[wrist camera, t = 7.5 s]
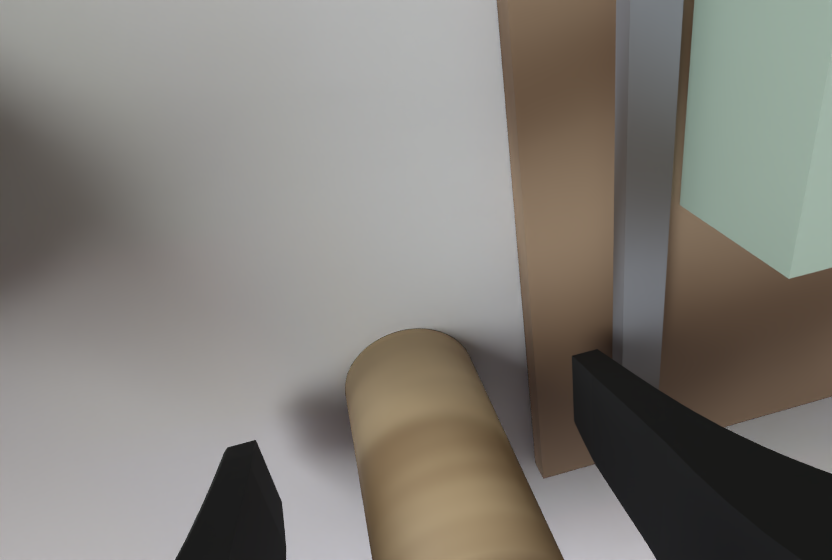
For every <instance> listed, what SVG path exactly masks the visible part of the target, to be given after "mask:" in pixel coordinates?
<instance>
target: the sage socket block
mask: <svg viewBox="0 0 832 560" xmlns="http://www.w3.org/2000/svg"><path fill="white" fill-rule="evenodd" d="M680 205H681V206H682V207H683V208H685V209H686V210H688V211H689V212H691V213H692V214H694V215H695V216H697V217H698V218H700V219H701V220H703V221H704V222H706V223H707V224H709V225H710V226H712V227H713V228H715V229H716V230H717V231H719V232H720V233H722V234H723V235H725V236H726V237H728V238H729V239H731V240H732V241H734V242H735V243H737V244H738V245H740V246H741V247H743V248H744V249H746V250H747V251H748V252H750V253H751V254H753V255H754V256H756V257H757V258H759V259H760V260H762V261H763V262H765V263H766V264H768V265H769V266H771V267H772V268H774V269H775V270H777V271H778V272H780V273H781V274H782V275H784V276H785V277H787V278H788V279H790V278H794V277H798V276H802V275H805V274H809V273H813V272H817V271H821V270H824V269H828V268H832V0H694V13H693V26H692V40H691V54H690V68H689V82H688V96H687V110H686V123H685V137H684V151H683V165H682V179H681V193H680Z"/></svg>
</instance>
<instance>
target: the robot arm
mask: <svg viewBox="0 0 832 560" xmlns="http://www.w3.org/2000/svg"><path fill="white" fill-rule="evenodd" d="M572 378H573V409H574V422H575V425H576V427H577V429H578V431H579V433H580V435H581V437H582V439H583V441H584V444H585V446H586V448H587V450H588V452H589V453H590V455H591V457H592V459H593V461H594V463H595V464H596V466H597V468H598V469H599V471H600V472H601V474H602V475H603V477H604V478H605V480H606V482H607V483H608V485H609V486H610V488H611V489H612V491H613V492H614V494H615V495H616V497H617V499H618V500H619V502H620V503H621V505H622V506H623V508H624V509H625V511H626V512H627V514H628V515H629V517H630V518H631V520H632V521H633V523H634V524H635V526H636V528H637V529H638V531H639V532H640V534H641V535H642V537H643V538H644V540H645V541H646V543H647V544H648V546H649V548H650V549H651V551H652V553H653V554H654V556H655V558H656V559H657V560H832V474H831V473H828V472H825V471H822V470H820V469H817V468H814V467H812V466H809V465H807V464H804V463H802V462H799V461H797V460H794V459H791V458H789V457H786V456H784V455H782V454H779V453H777V452H775V451H772V450H770V449H768V448H765V447H763V446H761V445H759V444H757V443H755V442H753V441H750V440H748V439H746V438H744V437H742V436H740V435H738V434H736V433H734V432H732V431H730V430H728V429H726V428H724V427H722V426H720V425H718V424H716V423H714V422H713V421H711V420H709V419H707V418H705V417H703V416H702V415H700V414H698V413H696V412H694V411H693V410H691V409H689V408H688V407H686V406H684V405H682V404H681V403H679V402H678V401H676V400H674V399H673V398H671V397H670V396H668V395H666V394H665V393H663V392H661V391H660V390H658V389H657V388H655V387H654V386H652V385H651V384H649V383H647V382H646V381H644V380H643V379H641V378H640V377H638V376H637V375H635V374H634V373H632V372H631V371H629V370H628V369H626V368H625V367H623V366H622V365H620V364H619V363H618V362H616V361H615V360H613V359H612V358H610V357H609V356H607V355H606V354H604V353H603V352H601V351H599V350H598V349H595V350H592V351H588V352H584V353H580V354H577V355H573V356H572ZM175 560H286V541H285V529H284V519H283V509H282V502H281V499H280V497H279V494H278V492H277V490H276V487H275V485H274V482H273V480H272V478H271V475H270V473H269V470H268V468H267V466H266V463H265V461H264V458H263V456H262V454H261V451H260V449H259V447H258V444H257V442H256V440H254V441H250V442H246V443H243V444H239V445H235V446H231V447H228V448H227V449H226V451H225V452H224V454H223V457H222V459H221V462H220V464H219V467H218V469H217V472H216V474H215V477H214V479H213V481H212V484H211V486H210V488H209V491H208V493H207V495H206V498H205V500H204V502H203V504H202V507H201V509H200V511H199V513H198V515H197V517H196V519H195V521H194V524H193V526H192V528H191V530H190V532H189V534H188V536H187V538H186V540H185V542H184V544H183V546H182V548H181V550H180V552H179V553H178V555H177V557H176V559H175Z"/></svg>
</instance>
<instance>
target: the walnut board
mask: <svg viewBox="0 0 832 560" xmlns="http://www.w3.org/2000/svg"><path fill="white" fill-rule="evenodd" d="M497 8H498V20H499V32H500V44H501V56H502V68H503V80H504V92H505V104H506V116H507V128H508V140H509V152H510V164H511V176H512V188H513V200H514V212H515V224H516V236H517V248H518V260H519V272H520V284H521V296H522V308H523V320H524V332H525V344H526V356H527V368H528V380H529V392H530V404H531V416H532V428H533V440H534V452H535V463H536V465H537V467H538V469H539V471H540V473H541V475H542V477H543V479H544V478H547V477H551V476H554V475H558V474H561V473H565V472H568V471H572V470H575V469H579V468H582V467H586V466H589V465H593V464H595V463H594V461H593V459H592V457H591V455H590V453H589V452H588V450H587V448H586V446H585V444H584V441H583V439H582V437H581V435H580V433H579V431H578V429H577V427H576V425H575V422H574V409H573V378H572V356H573V355H577V354H580V353H584V352H588V351H592V350H595V349H598V350H599V351H601V352H603V353H604V354H606V355H607V356H609V357H610V358H612V359H613V360H615V361H616V362H618V363H619V364H620V365H622V366H623V367H625V368H626V369H628V370H629V371H631V372H632V373H634V374H635V375H637V376H638V377H640V378H641V379H643V380H644V381H646V382H647V383H649V384H651V385H652V386H654V387H655V388H657V389H658V390H660V391H661V392H663V393H665V394H666V395H668V396H670V397H671V398H673V399H674V400H676V401H678V402H679V403H681V404H682V405H684V406H686V407H688V408H689V409H691V410H693V411H694V412H696V413H698V414H700V415H702V416H703V417H705V418H707V419H709V420H711V421H713V422H714V423H716V424H718V425H720V426H722V427H726V426H730V425H733V424H737V423H740V422H744V421H747V420H751V419H754V418H758V417H761V416H765V415H768V414H772V413H775V412H779V411H782V410H786V409H789V408H793V407H796V406H800V405H803V404H807V403H810V402H814V401H817V400H821V399H824V398H828V397H831V396H832V268H828V269H824V270H821V271H817V272H813V273H809V274H805V275H802V276H798V277H794V278H790V279H788V278H787V277H785V276H784V275H782V274H781V273H780V272H778V271H777V270H775V269H774V268H772V267H771V266H769V265H768V264H766V263H765V262H763V261H762V260H760V259H759V258H757V257H756V256H754V255H753V254H751V253H750V252H748V251H747V250H746V249H744V248H743V247H741V246H740V245H738V244H737V243H735V242H734V241H732V240H731V239H729V238H728V237H726V236H725V235H723V234H722V233H720V232H719V231H717V230H716V229H715V228H713V227H712V226H710V225H709V224H707V223H706V222H704V221H703V220H701V219H700V218H698V217H697V216H695V215H694V214H692V213H691V212H689V211H688V210H686V209H685V208H683V207H682V206H681V205H680V193H681V179H682V165H683V151H684V137H685V123H686V110H687V96H688V82H689V68H690V54H691V40H692V26H693V13H694V0H497Z"/></svg>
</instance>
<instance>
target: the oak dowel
mask: <svg viewBox="0 0 832 560" xmlns="http://www.w3.org/2000/svg"><path fill="white" fill-rule="evenodd" d="M345 395H346V401H347V407H348V413H349V419H350V425H351V431H352V438H353V444H354V450H355V456H356V462H357V468H358V474H359V481H360V487H361V493H362V499H363V505H364V511H365V517H366V523H367V530H368V536H369V542H370V548H371V554H372V560H564V559H563V556H562V554H561V552H560V550H559V548H558V546H557V544H556V541H555V539H554V537H553V535H552V533H551V531H550V529H549V526H548V524H547V522H546V520H545V518H544V516H543V513H542V511H541V509H540V507H539V505H538V503H537V501H536V498H535V496H534V494H533V492H532V490H531V488H530V486H529V483H528V481H527V479H526V477H525V475H524V473H523V471H522V468H521V466H520V464H519V462H518V460H517V458H516V455H515V453H514V451H513V449H512V447H511V445H510V443H509V440H508V438H507V436H506V434H505V432H504V430H503V428H502V425H501V423H500V421H499V419H498V417H497V415H496V413H495V410H494V408H493V406H492V404H491V402H490V400H489V397H488V395H487V393H486V391H485V389H484V387H483V385H482V382H481V380H480V378H479V376H478V374H477V372H476V370H475V367H474V365H473V363H472V361H471V359H470V357H469V354H468V353H467V351H466V350H465V348H464V347H463V346H462V345H461V344H460V343H459V342H458V341H457V340H455V339H454V338H452V337H450V336H449V335H447V334H444V333H442V332H438V331H435V330H429V329H408V330H403V331H398V332H395V333H392V334H389V335H387V336H385V337H382V338H380V339H379V340H377V341H375V342H374V343H372V344H371V345H369V346H368V347H367V348H366V349H365V350H364V351H362V352H361V353H360V355H359V356H358V357H357V358H356V359H355V361H354V362H353V364H352V365H351V368H350V370H349V372H348V375H347V378H346V383H345Z"/></svg>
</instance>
